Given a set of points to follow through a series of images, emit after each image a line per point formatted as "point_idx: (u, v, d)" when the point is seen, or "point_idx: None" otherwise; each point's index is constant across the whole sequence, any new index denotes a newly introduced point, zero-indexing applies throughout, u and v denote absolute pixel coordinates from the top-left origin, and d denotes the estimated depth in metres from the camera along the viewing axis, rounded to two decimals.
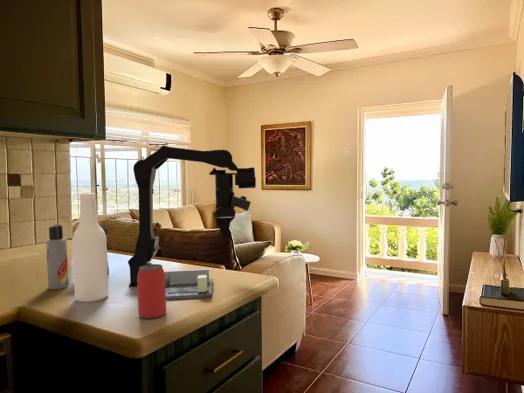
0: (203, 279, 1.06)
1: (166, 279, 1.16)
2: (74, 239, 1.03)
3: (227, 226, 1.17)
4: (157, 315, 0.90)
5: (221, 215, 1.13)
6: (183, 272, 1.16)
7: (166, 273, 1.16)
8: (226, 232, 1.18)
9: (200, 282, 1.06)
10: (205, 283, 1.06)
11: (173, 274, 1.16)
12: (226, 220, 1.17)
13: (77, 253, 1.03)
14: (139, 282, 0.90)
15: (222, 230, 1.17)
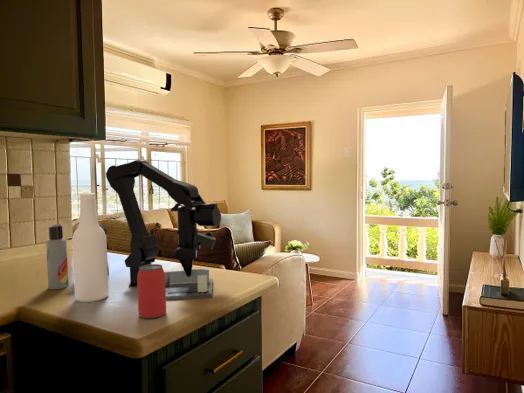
0: (203, 279, 1.06)
1: (166, 279, 1.16)
2: (74, 239, 1.03)
3: (190, 264, 1.14)
4: (157, 315, 0.90)
5: (180, 257, 1.06)
6: (183, 272, 1.16)
7: (166, 273, 1.16)
8: (189, 269, 1.15)
9: (200, 282, 1.06)
10: (205, 283, 1.06)
11: (173, 274, 1.16)
12: None
13: (77, 253, 1.03)
14: (139, 282, 0.90)
15: (185, 268, 1.14)
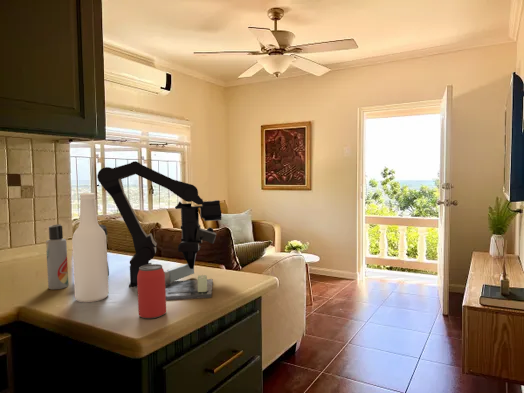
0: (203, 279, 1.06)
1: (168, 279, 1.16)
2: (74, 239, 1.03)
3: (193, 257, 1.23)
4: (157, 315, 0.90)
5: (184, 250, 1.15)
6: (179, 269, 1.21)
7: (168, 273, 1.16)
8: (192, 262, 1.24)
9: (200, 282, 1.06)
10: (205, 283, 1.06)
11: (172, 273, 1.18)
12: (192, 251, 1.23)
13: (77, 253, 1.03)
14: (139, 282, 0.90)
15: (188, 261, 1.24)
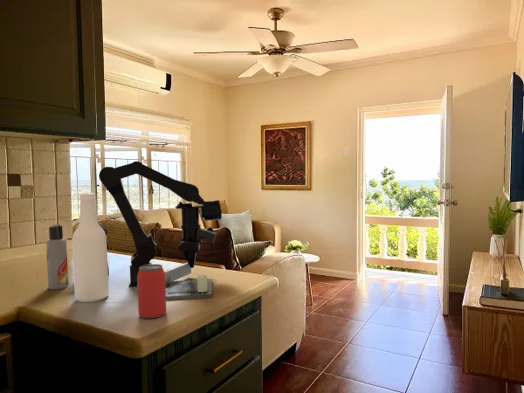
0: (203, 279, 1.06)
1: (169, 278, 1.16)
2: (74, 239, 1.03)
3: (193, 256, 1.25)
4: (157, 315, 0.90)
5: (185, 249, 1.17)
6: (177, 269, 1.21)
7: (168, 272, 1.16)
8: (192, 262, 1.26)
9: (200, 282, 1.06)
10: (205, 283, 1.06)
11: (172, 273, 1.18)
12: (192, 251, 1.25)
13: (77, 253, 1.03)
14: (139, 282, 0.90)
15: (189, 260, 1.25)
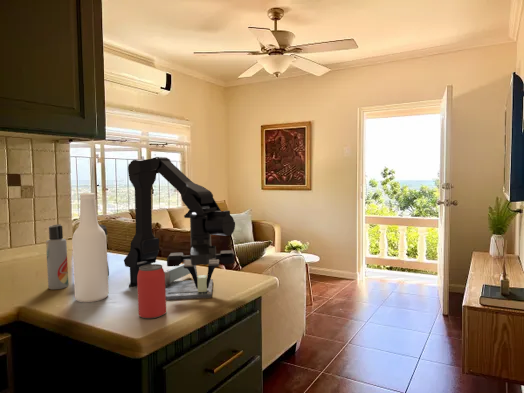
0: (203, 279, 1.06)
1: (169, 278, 1.16)
2: (74, 239, 1.03)
3: None
4: (157, 315, 0.90)
5: None
6: (177, 269, 1.21)
7: (168, 272, 1.16)
8: None
9: (200, 282, 1.06)
10: (205, 283, 1.06)
11: (172, 273, 1.18)
12: None
13: (77, 253, 1.03)
14: (139, 282, 0.90)
15: None
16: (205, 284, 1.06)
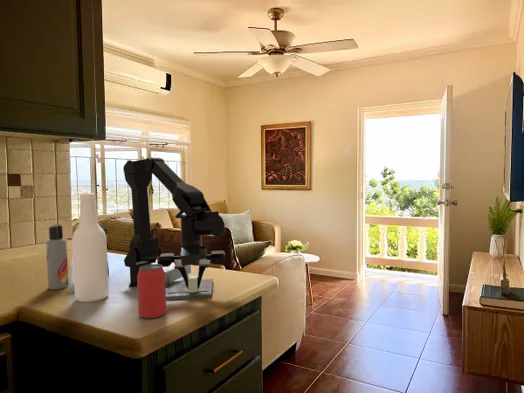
0: (194, 279, 1.06)
1: (169, 278, 1.16)
2: (74, 239, 1.03)
3: None
4: (157, 315, 0.90)
5: None
6: (177, 269, 1.21)
7: (168, 272, 1.16)
8: None
9: (191, 283, 1.06)
10: (196, 283, 1.06)
11: (172, 273, 1.18)
12: None
13: (77, 253, 1.03)
14: (139, 282, 0.90)
15: None
16: (196, 284, 1.06)
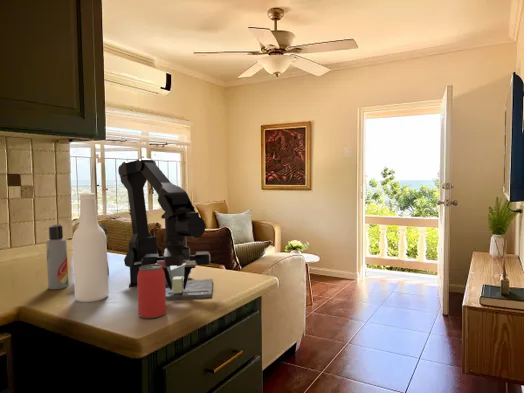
0: (178, 280, 1.06)
1: None
2: (74, 239, 1.03)
3: None
4: (157, 315, 0.90)
5: None
6: (177, 269, 1.21)
7: None
8: None
9: (175, 283, 1.05)
10: (180, 284, 1.06)
11: (172, 273, 1.18)
12: None
13: (77, 253, 1.03)
14: (139, 282, 0.90)
15: None
16: (180, 285, 1.06)
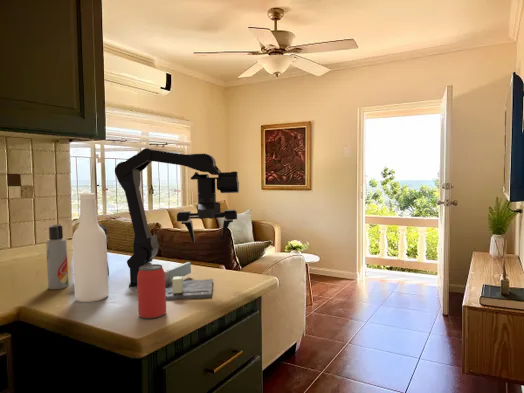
0: (178, 280, 1.06)
1: (169, 278, 1.16)
2: (74, 239, 1.03)
3: None
4: (157, 315, 0.90)
5: None
6: (177, 269, 1.21)
7: (168, 272, 1.16)
8: None
9: (175, 283, 1.05)
10: (180, 284, 1.06)
11: (172, 273, 1.18)
12: None
13: (77, 253, 1.03)
14: (139, 282, 0.90)
15: None
16: (180, 285, 1.06)
